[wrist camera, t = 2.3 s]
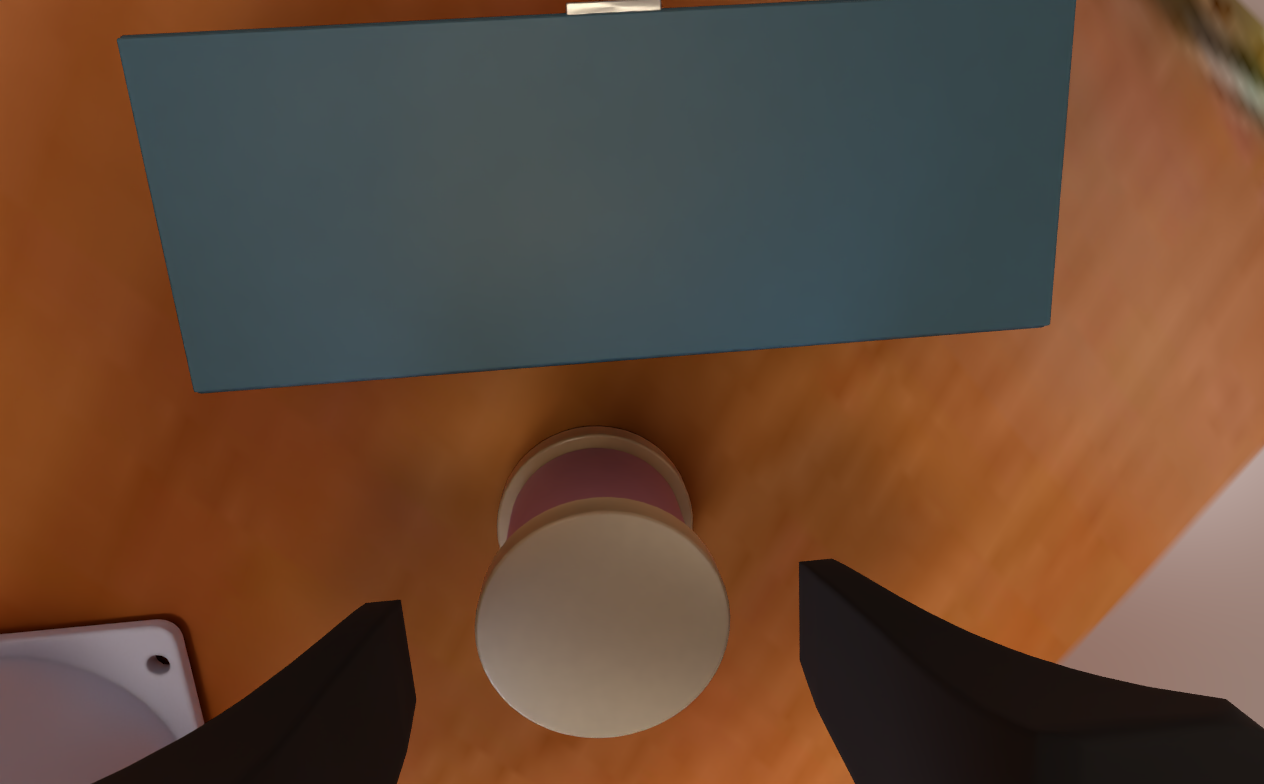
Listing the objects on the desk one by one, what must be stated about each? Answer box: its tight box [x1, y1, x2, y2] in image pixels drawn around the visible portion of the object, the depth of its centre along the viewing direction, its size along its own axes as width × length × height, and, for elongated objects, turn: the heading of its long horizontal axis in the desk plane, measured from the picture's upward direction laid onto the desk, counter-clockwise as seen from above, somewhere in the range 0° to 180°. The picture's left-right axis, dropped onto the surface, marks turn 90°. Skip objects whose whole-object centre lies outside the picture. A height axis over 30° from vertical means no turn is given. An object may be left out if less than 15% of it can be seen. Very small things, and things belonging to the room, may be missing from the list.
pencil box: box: [117, 0, 1076, 394], centre depth 15 cm, size 16×6×4 cm, turn 94°
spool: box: [475, 426, 730, 738], centre depth 16 cm, size 5×5×5 cm
